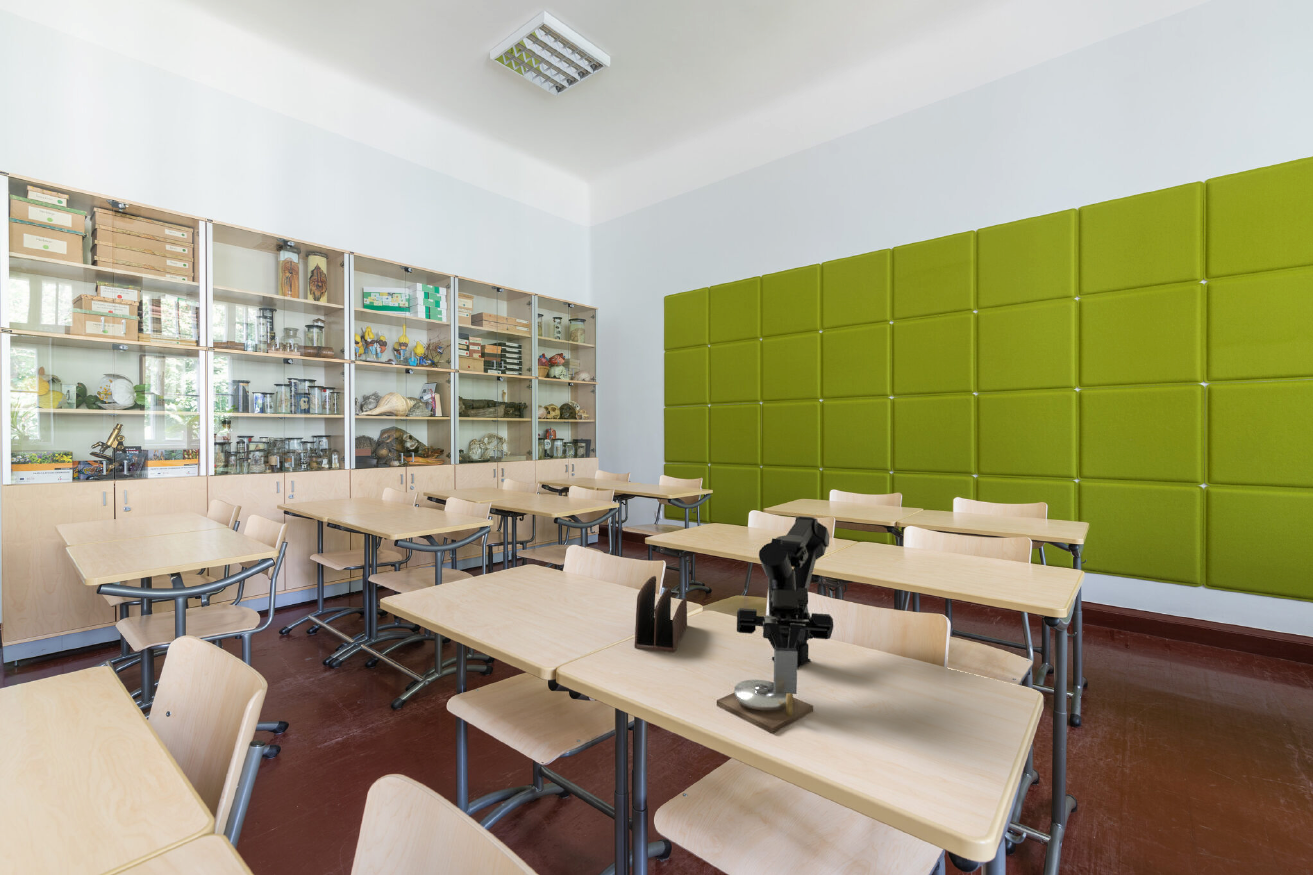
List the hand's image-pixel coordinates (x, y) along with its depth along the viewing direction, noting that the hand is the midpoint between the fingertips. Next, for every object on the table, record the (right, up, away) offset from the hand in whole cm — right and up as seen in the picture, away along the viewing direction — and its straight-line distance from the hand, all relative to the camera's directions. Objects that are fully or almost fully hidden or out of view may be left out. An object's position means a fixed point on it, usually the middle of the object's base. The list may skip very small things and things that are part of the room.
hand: (785, 665), depth 105 cm
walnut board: (-4, -8, -1) cm, 9 cm away
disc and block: (-4, -6, -1) cm, 7 cm away
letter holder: (-23, -8, +36) cm, 43 cm away
